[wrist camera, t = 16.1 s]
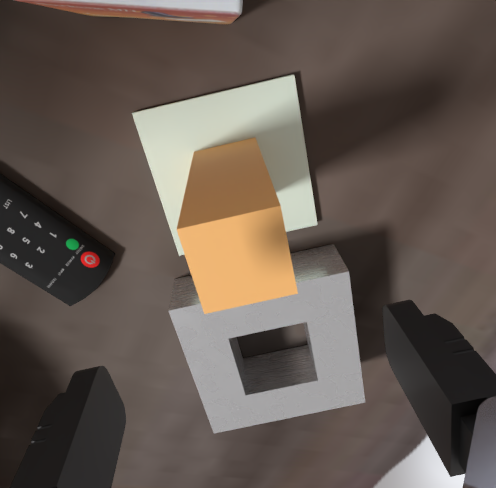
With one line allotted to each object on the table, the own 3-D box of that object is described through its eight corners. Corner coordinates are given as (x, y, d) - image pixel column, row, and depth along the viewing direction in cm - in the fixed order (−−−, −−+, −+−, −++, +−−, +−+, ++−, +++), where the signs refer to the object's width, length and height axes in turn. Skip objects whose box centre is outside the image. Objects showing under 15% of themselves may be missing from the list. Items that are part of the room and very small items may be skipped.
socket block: (214, 394, 36) (213, 433, 33) (174, 279, 31) (168, 310, 27) (350, 365, 36) (365, 402, 32) (333, 244, 30) (349, 271, 27)
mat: (179, 253, 30) (179, 255, 30) (133, 112, 26) (131, 113, 25) (316, 222, 30) (317, 224, 29) (293, 74, 25) (294, 74, 25)
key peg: (193, 151, 26) (176, 229, 16) (255, 137, 26) (280, 205, 15) (209, 209, 28) (204, 314, 17) (267, 195, 28) (298, 293, 17)
